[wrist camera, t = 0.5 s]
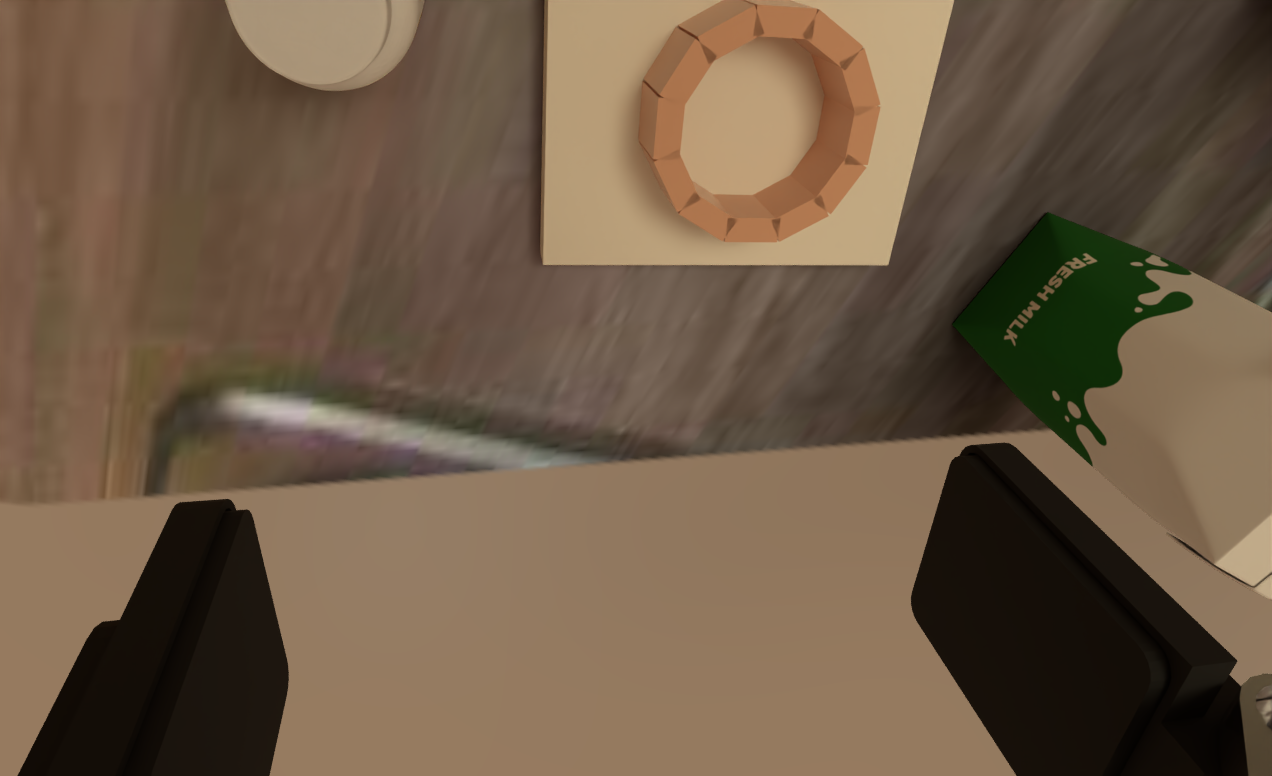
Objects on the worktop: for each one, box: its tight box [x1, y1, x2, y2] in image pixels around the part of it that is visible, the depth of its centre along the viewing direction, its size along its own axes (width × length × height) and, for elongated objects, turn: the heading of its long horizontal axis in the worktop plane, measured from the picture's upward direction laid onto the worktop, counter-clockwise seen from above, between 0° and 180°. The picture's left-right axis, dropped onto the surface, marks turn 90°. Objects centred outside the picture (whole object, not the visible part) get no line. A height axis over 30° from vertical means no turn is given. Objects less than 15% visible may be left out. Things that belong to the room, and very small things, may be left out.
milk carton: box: [952, 212, 1272, 600], centre depth 34 cm, size 9×9×20 cm
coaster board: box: [540, 0, 954, 265], centre depth 33 cm, size 13×16×2 cm
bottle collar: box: [638, 0, 880, 242], centre depth 32 cm, size 9×9×3 cm
